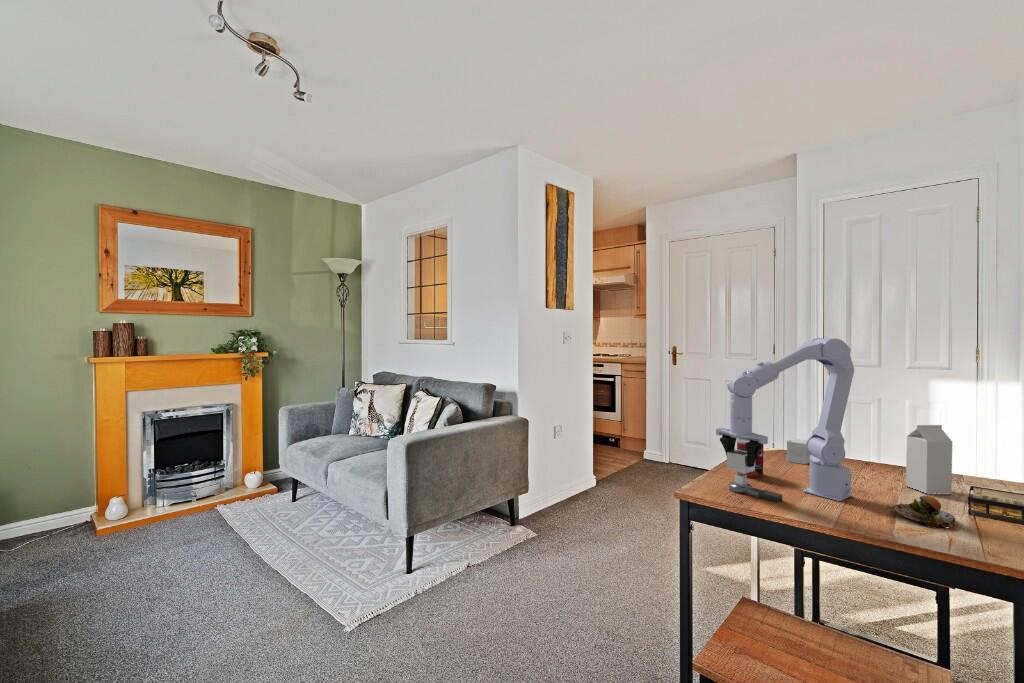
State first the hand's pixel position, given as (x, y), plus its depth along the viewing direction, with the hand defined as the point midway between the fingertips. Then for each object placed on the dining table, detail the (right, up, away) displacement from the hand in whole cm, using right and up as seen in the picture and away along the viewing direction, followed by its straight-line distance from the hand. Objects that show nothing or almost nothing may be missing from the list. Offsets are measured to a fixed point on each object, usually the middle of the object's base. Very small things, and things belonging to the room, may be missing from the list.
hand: (740, 464), depth 138 cm
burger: (+35, -9, -21) cm, 42 cm away
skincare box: (+35, -7, +30) cm, 47 cm away
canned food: (+10, -8, +15) cm, 20 cm away
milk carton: (+54, -8, 0) cm, 54 cm away
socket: (0, -2, 0) cm, 2 cm away
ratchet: (+2, -8, -3) cm, 9 cm away
